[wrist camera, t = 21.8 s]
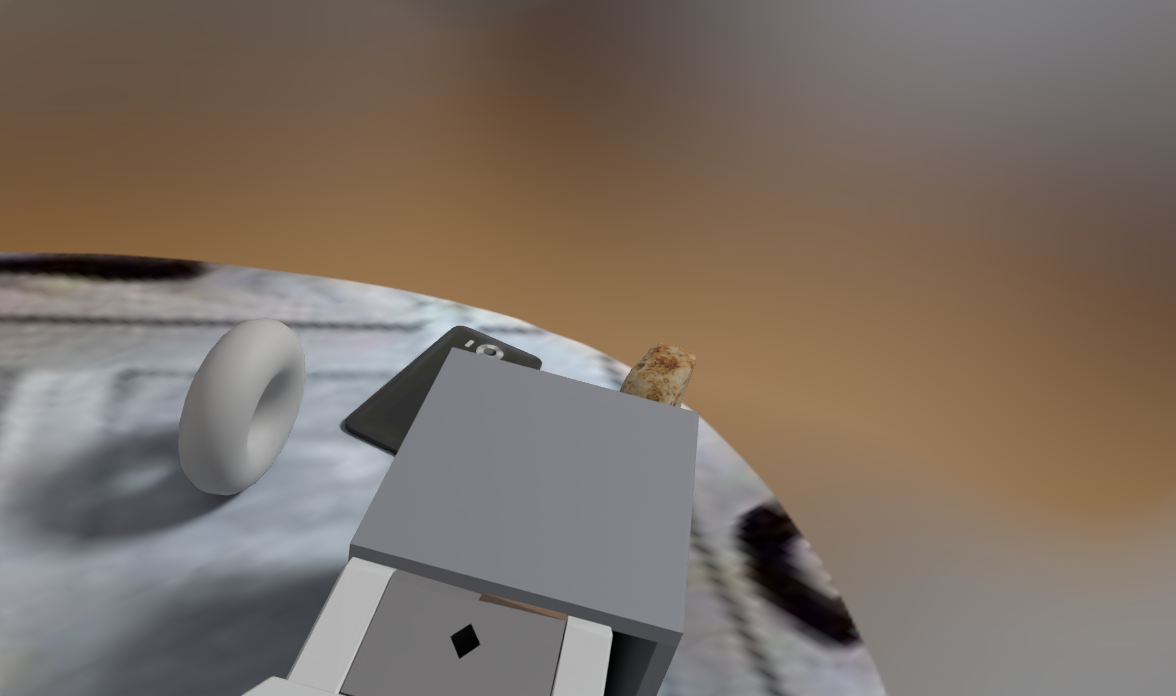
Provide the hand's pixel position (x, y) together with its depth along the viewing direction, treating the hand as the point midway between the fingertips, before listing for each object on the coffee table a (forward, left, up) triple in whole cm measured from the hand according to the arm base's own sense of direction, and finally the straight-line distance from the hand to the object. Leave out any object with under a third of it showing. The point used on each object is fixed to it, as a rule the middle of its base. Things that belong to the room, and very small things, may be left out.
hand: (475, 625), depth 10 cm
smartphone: (+29, +31, -31) cm, 53 cm away
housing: (+17, +12, -30) cm, 37 cm away
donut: (+14, +31, -30) cm, 46 cm away
